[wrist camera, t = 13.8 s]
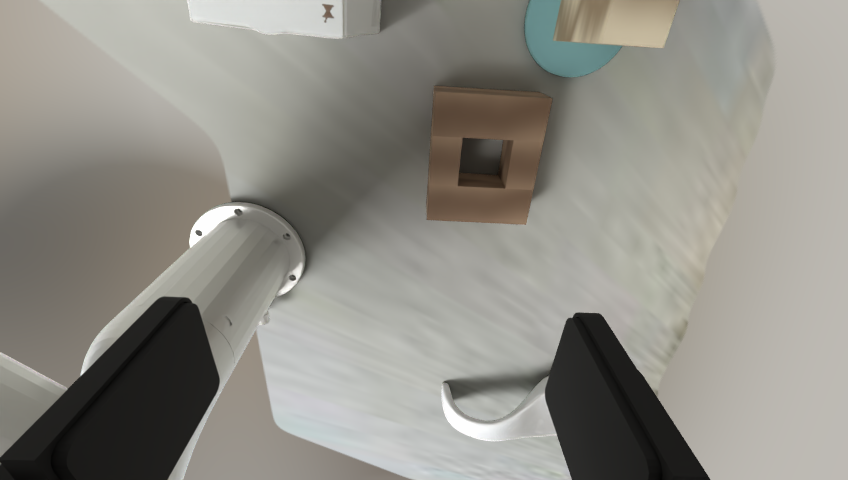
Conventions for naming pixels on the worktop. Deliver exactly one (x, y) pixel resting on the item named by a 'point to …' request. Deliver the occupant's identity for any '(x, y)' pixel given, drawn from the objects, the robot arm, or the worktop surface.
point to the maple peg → (615, 22)
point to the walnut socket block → (485, 119)
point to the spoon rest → (504, 418)
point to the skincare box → (292, 16)
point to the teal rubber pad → (560, 44)
